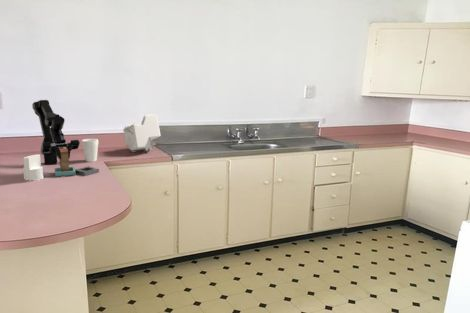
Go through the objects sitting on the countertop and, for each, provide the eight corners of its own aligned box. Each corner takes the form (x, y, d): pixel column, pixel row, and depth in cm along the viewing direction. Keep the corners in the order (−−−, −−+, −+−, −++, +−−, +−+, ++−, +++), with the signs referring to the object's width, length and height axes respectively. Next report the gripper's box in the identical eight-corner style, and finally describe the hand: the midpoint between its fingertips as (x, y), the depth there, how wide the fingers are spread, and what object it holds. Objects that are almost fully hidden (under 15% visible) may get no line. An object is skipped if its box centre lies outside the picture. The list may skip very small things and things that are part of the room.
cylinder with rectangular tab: (35, 181, 194) (33, 158, 191) (19, 180, 196) (17, 157, 193) (47, 177, 203) (45, 154, 200) (32, 175, 204) (30, 153, 202)
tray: (55, 177, 202) (54, 172, 202) (54, 172, 211) (54, 168, 211) (75, 175, 207) (75, 171, 206) (74, 171, 216) (74, 166, 215)
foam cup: (88, 163, 234) (87, 142, 231) (80, 160, 239) (78, 140, 237) (102, 160, 241) (101, 140, 239) (93, 158, 247) (92, 138, 244)
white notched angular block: (136, 152, 254) (129, 115, 255) (126, 156, 266) (119, 120, 267) (163, 149, 267) (156, 114, 268) (152, 153, 279) (146, 119, 280)
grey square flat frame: (74, 173, 211) (74, 169, 211) (88, 169, 219) (88, 166, 218) (85, 175, 207) (85, 172, 206) (99, 172, 214) (99, 168, 214)
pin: (60, 172, 209) (58, 148, 206) (67, 171, 211) (65, 148, 208) (62, 173, 206) (60, 150, 203) (69, 172, 209) (67, 149, 206)
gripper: (72, 142, 223) (79, 164, 217) (37, 145, 212) (44, 169, 206) (75, 130, 216) (83, 153, 210) (39, 133, 204) (46, 157, 198)
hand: (64, 158), depth 206 cm, fingers open, 4 cm apart
